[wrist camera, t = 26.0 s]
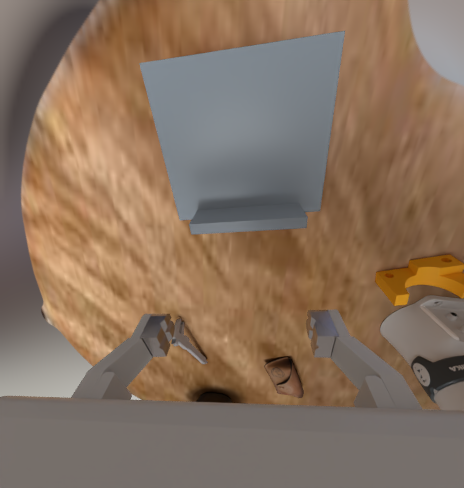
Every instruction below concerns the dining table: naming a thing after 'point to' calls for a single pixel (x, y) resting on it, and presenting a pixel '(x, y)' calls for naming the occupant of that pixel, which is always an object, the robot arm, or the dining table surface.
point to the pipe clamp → (422, 277)
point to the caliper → (185, 341)
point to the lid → (247, 131)
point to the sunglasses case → (285, 377)
